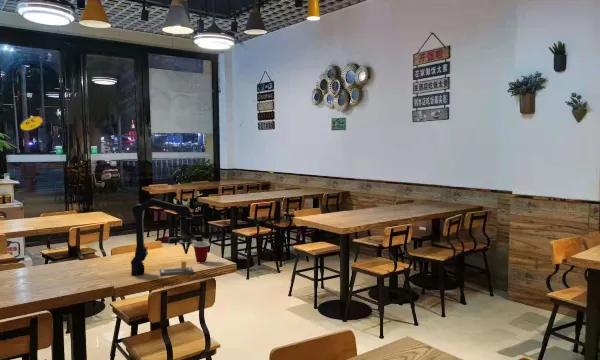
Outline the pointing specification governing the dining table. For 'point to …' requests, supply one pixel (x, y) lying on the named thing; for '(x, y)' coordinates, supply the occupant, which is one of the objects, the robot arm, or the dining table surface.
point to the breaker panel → (175, 271)
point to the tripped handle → (183, 265)
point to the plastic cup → (201, 251)
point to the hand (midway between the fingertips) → (186, 254)
